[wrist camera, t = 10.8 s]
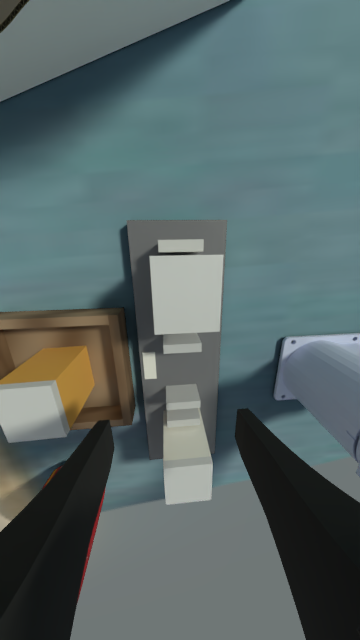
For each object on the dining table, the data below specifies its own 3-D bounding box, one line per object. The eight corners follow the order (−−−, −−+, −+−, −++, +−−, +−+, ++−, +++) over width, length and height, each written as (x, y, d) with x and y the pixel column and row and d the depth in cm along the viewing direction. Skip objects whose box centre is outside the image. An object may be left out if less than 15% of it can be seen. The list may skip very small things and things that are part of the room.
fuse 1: (202, 256, 16) (223, 254, 10) (201, 307, 17) (219, 331, 12) (154, 257, 16) (149, 255, 10) (157, 309, 17) (154, 334, 11)
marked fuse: (86, 345, 18) (50, 385, 12) (94, 384, 19) (66, 436, 14) (42, 348, 18) (-15, 390, 12) (54, 388, 19) (8, 442, 13)
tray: (123, 307, 18) (117, 315, 15) (135, 406, 21) (131, 425, 19) (-8, 312, 17) (-36, 321, 14) (27, 414, 20) (9, 435, 18)
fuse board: (223, 222, 16) (238, 212, 13) (212, 445, 24) (220, 475, 21) (128, 222, 15) (119, 212, 12) (150, 451, 24) (148, 483, 20)
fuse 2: (199, 407, 21) (212, 463, 15) (198, 438, 22) (211, 499, 17) (163, 410, 21) (163, 468, 15) (165, 441, 22) (165, 504, 16)
